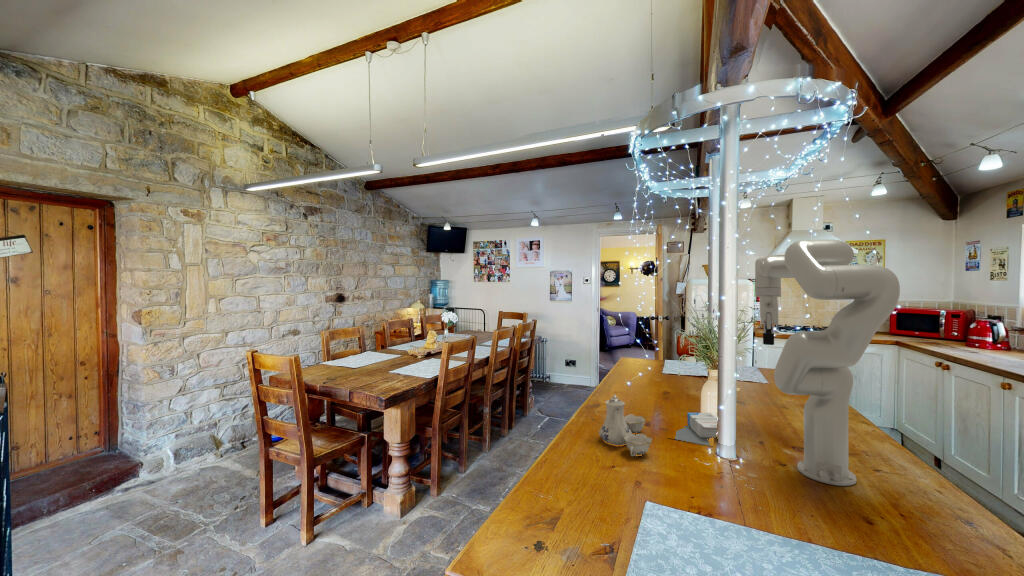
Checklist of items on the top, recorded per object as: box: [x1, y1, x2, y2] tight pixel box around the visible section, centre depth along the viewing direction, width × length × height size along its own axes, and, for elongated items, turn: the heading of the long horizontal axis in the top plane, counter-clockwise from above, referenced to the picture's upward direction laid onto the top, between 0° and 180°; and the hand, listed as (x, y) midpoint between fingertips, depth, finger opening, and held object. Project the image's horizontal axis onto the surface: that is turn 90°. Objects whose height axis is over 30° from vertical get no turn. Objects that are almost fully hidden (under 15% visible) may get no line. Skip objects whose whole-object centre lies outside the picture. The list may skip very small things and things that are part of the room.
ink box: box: [686, 412, 718, 439], centre depth 135 cm, size 9×5×15 cm
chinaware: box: [598, 394, 653, 457], centre depth 130 cm, size 28×17×17 cm, turn 172°
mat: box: [675, 425, 710, 447], centre depth 135 cm, size 16×14×1 cm
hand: (768, 344), depth 136 cm, fingers closed
